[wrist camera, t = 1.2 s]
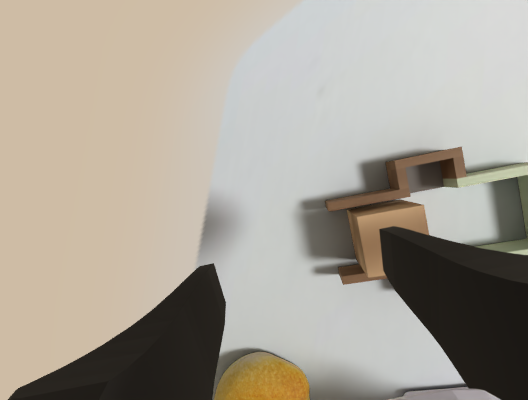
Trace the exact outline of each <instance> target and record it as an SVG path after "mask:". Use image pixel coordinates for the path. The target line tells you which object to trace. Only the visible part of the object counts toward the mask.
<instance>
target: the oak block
mask: <svg viewBox="0 0 528 400" xmlns="http://www.w3.org/2000/svg"><path fill="white" fill-rule="evenodd" d="M347 213H348V219H349V224H350V229H351V234H352V240H353V245H354V250H355V256H356V260H357V261H358V263H359V264H360V266H361V267H362V269H363V270H364V272H365V273H366V275H367V276H368V278H370V277H377V276H384V275H385V273H384V271H383V263H382V253H381V242H380V232H379V229H382V228H387V227H392V226H396V227H401V228H405V229H409V230H413V231H416V232H420V233H423V234H427V235H429V232H428V226H427V220H426V215H425V209H424V205H421V204H417V203H413V202H408V201H404V200H396V201H391V202H386V203H380V204H375V205H369V206H364V207H358V208H353V209H348V210H347Z"/></svg>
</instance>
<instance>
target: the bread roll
mask: <svg viewBox="0 0 528 400" xmlns="http://www.w3.org/2000/svg"><path fill="white" fill-rule="evenodd" d="M214 400H310V397H309V383H308V380H307V378H306V376H305V374H304V373H303V371H302V370H301V369H300V368H299V367H297V366H296V365H294V364H292V363H290V362H288V361H286V360H284V359H281V358H279V357H276V356H274V355H272V354H269V353H266V352H254V353H251V354H248V355H245V356H243V357H241V358H239V359H238V360H237V361H235V362H234V363H233V364H232V365H230V366H229V367H228V369H227V370H226V371H225V372H224V374H223V376H222V377H221V379H220V382H219V384H218V386H217V389H216V393H215V397H214Z"/></svg>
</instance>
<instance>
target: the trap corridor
mask: <svg viewBox="0 0 528 400" xmlns="http://www.w3.org/2000/svg"><path fill="white" fill-rule="evenodd" d="M386 168H387V173H388V179H389V184H390V189H384V190H379V191H374V192H369V193H363V194H358V195H353V196H348V197H342V198H337V199H332V200H327V201H325V203H326V208H327V210H328V211H335V210H340V209H346V208H351V207H356V206H362V205H367V204H373V203H378V202H383V201H389V200H394V199H400V198H405V197H410V193H413V192H418V191H424V190H429V189H434V188H440V187H456V188H459V187H465V186H470V185H475V184H481V183H486V182H492V181H497V180H502V179H508V178H513V177H517V178H518V184H519V191H520V197H521V204H522V210H523V217H524V223H525V230H526V236H527V239H521V240H514V241H507V242H501V243H494V244H488V245H481V246H475V247H479V248H484V249H490V250H495V251H501V252H507V253H514V254H522V255H528V162H526V163H520V164H515V165H510V166H504V167H499V168H494V169H489V170H484V171H478V172H473V173H468V174H466V170H465V164H464V158H463V152H462V147H458V148H453V149H448V150H442V151H438V152H433V153H428V154H423V155H418V156H413V157H409V158H404V159H399V160H394V161H389V162H386ZM338 270H339V275H340V278H341V280H342V283H343V285H344V284H351V283H358V282H365V281H372V280H379V279H386V278H387V276H386V275H384V276H377V277H370V278H368V276H367V275H366V273H365V272H364V270H363V269H362V267H361V266H360V264H357V265H350V266H344V267H338Z"/></svg>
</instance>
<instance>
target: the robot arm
mask: <svg viewBox="0 0 528 400" xmlns="http://www.w3.org/2000/svg"><path fill="white" fill-rule="evenodd" d="M379 232H380V242H381V253H382V263H383V271H384V273H385V275H386V276H387V278H388V280H389V281H390V283H391V285H392V286H393V288H394V289H395V291H396V292H397V293H398V294H399V296H400V297H401V298H402V299H403V301H404V302H405V303H406V304H407V306H408V307H409V308H410V309H411V310H412V311H413V313H414V314H415V315H416V316H417V317H418V319H419V320H420V321H421V322H422V323H423V325H424V326H425V327H426V328H427V329H428V331H429V332H430V333H431V334H432V336H433V337H434V338H435V339H436V341H437V342H438V343H439V345H440V346H441V347H442V349H443V350H444V352H445V353H446V355H447V356H448V358H449V359H450V361H451V362H452V364H453V365H454V367H455V368H456V370H457V371H458V372H459V374H460V376H461V377H462V379H463V380H464V382H465V383H466V385H467V386H468V387H460V388H447V389H435V390H423V391H410V392H406V393H405V394H404V395H403V397H398V398H392V399H387V400H528V255H522V254H514V253H507V252H501V251H495V250H490V249H484V248H479V247H474V246H469V245H465V244H461V243H456V242H452V241H448V240H445V239H441V238H437V237H434V236H430V235H427V234H423V233H420V232H416V231H413V230H409V229H405V228H401V227H396V226H392V227H387V228H382V229H379ZM225 308H226V302H225V299H224V296H223V292H222V289H221V286H220V282H219V279H218V276H217V273H216V269H215V266H214V263H213V264H208V265H204V266H200V267H198V268H197V269H196V270H195V271H194V272H193V273H192V274H191V275H190V276H189V277H188V278H186V279H185V280H184V282H182V283H181V284H180V285H179V286H178V287H177V288H176V289H175V290H174V291H173V292H172V293H171V294H170V295H169V296H167V297H166V298H165V299H164V300H163V301H162V302H161V303H160V304H158V305H157V306H156V307H155V308H154V309H153V310H152V311H150V312H149V313H148V314H147V315H145V316H144V317H143V318H141V319H140V320H139V321H137V322H136V323H135V324H133V325H132V326H131V327H129V328H128V329H126V330H125V331H123V332H122V333H120V334H119V335H117V336H116V337H114V338H112V339H111V340H110V341H108V342H106V343H105V344H103V345H102V346H100V347H98V348H97V349H95V350H93V351H91V352H90V353H88V354H86V355H85V356H83V357H81V358H79V359H77V360H75V361H73V362H72V363H70V364H68V365H66V366H64V367H62V368H60V369H58V370H56V371H54V372H52V373H50V374H48V375H46V376H43V377H41V378H39V379H37V380H35V381H33V382H31V383H29V384H27V385H25V386H22V387H20V388H18V389H17V390H16V391H15V392H14V393H13V394H12V396H11V397H10V398H9V399H8V400H212V396H213V386H214V379H215V373H216V368H217V363H218V358H219V352H220V347H221V342H222V336H223V331H224V325H225Z"/></svg>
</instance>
